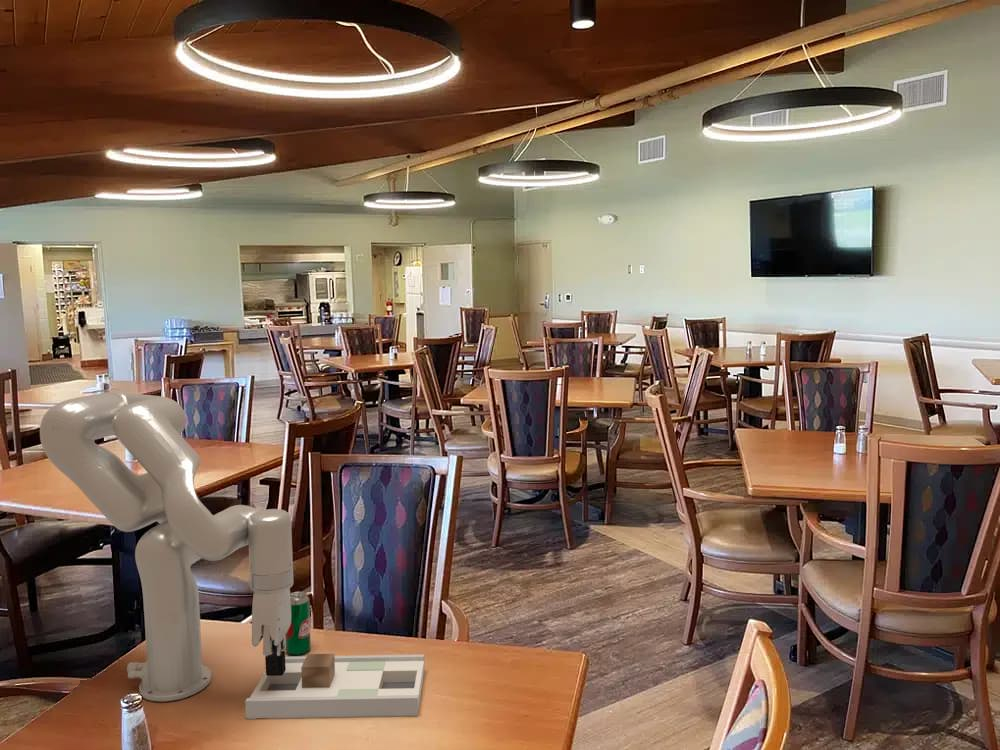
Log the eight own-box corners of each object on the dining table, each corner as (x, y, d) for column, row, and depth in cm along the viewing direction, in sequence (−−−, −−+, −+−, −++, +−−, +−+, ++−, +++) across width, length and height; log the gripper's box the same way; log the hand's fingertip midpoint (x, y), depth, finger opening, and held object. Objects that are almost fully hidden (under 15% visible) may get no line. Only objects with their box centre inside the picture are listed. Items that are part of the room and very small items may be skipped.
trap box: (246, 718, 130) (245, 701, 129) (271, 672, 146) (271, 656, 145) (417, 715, 130) (417, 698, 130) (424, 670, 146) (424, 654, 146)
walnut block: (302, 688, 135) (301, 667, 135) (308, 674, 140) (307, 654, 140) (329, 687, 135) (328, 666, 135) (334, 673, 140) (334, 653, 140)
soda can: (304, 657, 152) (302, 601, 150) (281, 655, 153) (279, 599, 151) (314, 646, 157) (313, 591, 155) (292, 644, 158) (291, 590, 156)
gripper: (263, 563, 143) (267, 654, 145) (237, 594, 128) (242, 695, 130) (302, 563, 143) (305, 653, 145) (281, 593, 128) (285, 694, 130)
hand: (275, 673), depth 137 cm, fingers closed
